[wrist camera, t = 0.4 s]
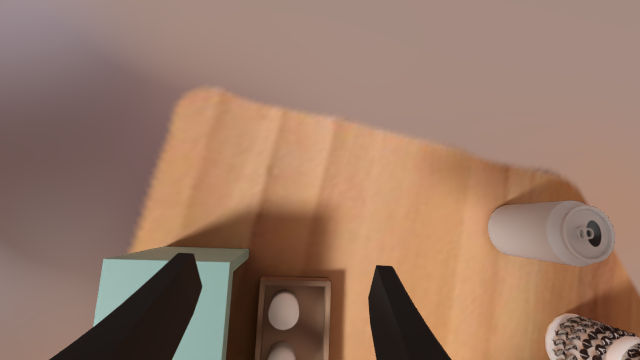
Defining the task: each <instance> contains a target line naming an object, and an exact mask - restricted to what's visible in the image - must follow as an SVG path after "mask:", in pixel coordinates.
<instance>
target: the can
mask: <svg viewBox="0 0 640 360" xmlns="http://www.w3.org/2000/svg"><path fill="white" fill-rule="evenodd" d="M488 232H489V237H490V239H491V241H492V243H493V245H494V246H495V247H496V248H497V249H498V250H499V251H500V252H502V253H504V254H506V255H510V256H516V257H523V258H529V259H535V260H541V261H547V262H553V263H559V264H566V265H572V266H578V267H582V266H587V265H590V264H592V263H597V262H601V261H603V260H604V259H606V258H608V256H609V255H610V254H611V252H612V251H613V248H614V244H615V232H614V229H613V225H612V223H611V222H610V220H609V218H608V217H607V216H606V215H605V214H604V213H603V212H602V211H601V210H599V209H597V208H595V207H593V206H588V205H586V204H584V203H582V202H578V201H573V200H570V201H555V202H541V203H527V204H513V205H504V206H501V207H499V208H498V209H496V210H495V211H494V212H493V213H492V215H491V217H490V219H489V222H488Z"/></svg>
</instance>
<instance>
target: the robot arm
mask: <svg viewBox="0 0 640 360" xmlns="http://www.w3.org/2000/svg"><path fill="white" fill-rule="evenodd" d="M201 290H202V283H201V279H200V275H199V271H198V267H197V264H196V260H195V256H194V254H193V253H177V254H176V255H175V256H174V257H173V258H172V259H171V260H170V261H168V262H167V263H166V264H165V265H164V266H163V267H162V268H161V269H160V270H159V271H158V272H157V273H155V274H154V275H153V276H152V277H151V278H150V279H149V280H148V281H147V282H146V283H145V284H143V285H142V286H141V287H140V288H139V289H138V290H137V291H135V292H134V293H133V294H132V295H131V296H130V297H129V298H128V299H126V300H125V301H124V302H123V303H122V304H121V305H119V306H118V307H117V308H116V309H115V310H113V311H112V312H111V313H110V314H109V315H107V316H106V317H105V318H104V319H103V320H101V321H100V322H99V323H98V324H96V325H95V326H94V327H93V328H91V329H90V330H89V331H88V332H86V333H85V334H84V335H82V336H81V337H80V338H78V339H77V340H76V341H74V342H73V343H72V344H70V345H69V346H68V347H67V348H65V349H64V350H62V351H61V352H59V353H58V354H57V355H55V356H54V357H52V358H51V359H50V360H172V359H173V357H174V355H175V352H176V350H177V348H178V346H179V344H180V342H181V340H182V338H183V336H184V333H185V331H186V329H187V327H188V325H189V323H190V320H191V318H192V316H193V314H194V311H195V308H196V305H197V303H198V300H199V297H200V293H201ZM368 300H369V314H370V325H371V331H372V336H373V342H374V348H375V353H376V359H377V360H451V358H450V357H449V356H448V354H447V353H446V352H445V350H444V349H443V347H442V346H441V345H440V343H439V342H438V340H437V339H436V337H435V336H434V335H433V333H432V332H431V330H430V329H429V327H428V326H427V324H426V323H425V321H424V319H423V318H422V316H421V315H420V313H419V312H418V310H417V308H416V307H415V305H414V304H413V302H412V300H411V299H410V297H409V295H408V293H407V292H406V290H405V288H404V286H403V285H402V283H401V281H400V279H399V277H398V275H397V274H396V272H395V270H394V268H393V267H392V266H381V265H376V269H375V273H374V277H373V281H372V285H371V289H370V293H369V297H368Z"/></svg>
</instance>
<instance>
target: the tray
mask: <svg viewBox="0 0 640 360" xmlns="http://www.w3.org/2000/svg"><path fill="white" fill-rule="evenodd" d="M283 289H288V290H291V291H293V292H294V293H295V294H296V296H297V298H298V304H299V317H298V320H297V322H296V324H295V325H294V326H293V327H291V328H289V329H287V330H279V329H277V328H275V327H274V326H273V325H272V324H271V323H270V321H269V317H268V312H269V308H270V304H271V300H272V297H273V296H274V294H275V293H276V292H278V291H280V290H283ZM330 298H331V281H330V279H329V278H327V277H282V276H262V278H261V280H260V292H259V306H258V320H257V334H256V349H255V360H267V356H268V351H269V349H270V348H271V346H272V345H273V344H275V343H276V342H279V341H286V342H289V343H290V344H291V345H292V346H293V347H294V349H295V353H296V360H328V358H329V328H330Z"/></svg>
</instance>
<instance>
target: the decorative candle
mask: <svg viewBox="0 0 640 360" xmlns="http://www.w3.org/2000/svg"><path fill="white" fill-rule="evenodd" d="M545 349H546V351H547V354H548V356H549V359H550V360H640V338H639V337H638V336H637V335H636V334H634V333H628V332H626V331H624V330H621V329H619V328H613V327H611V326H607V325H606V324H604V323H602V322H597V321H594V320H592V319H589V318H585V317H582V316H579V315H577V314H567V313H564V314H562V315H560V316H557V317H555V318H554V320H553V321H552V322H551V323H550V324H549V325H548V329H547V332H546V335H545Z"/></svg>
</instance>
